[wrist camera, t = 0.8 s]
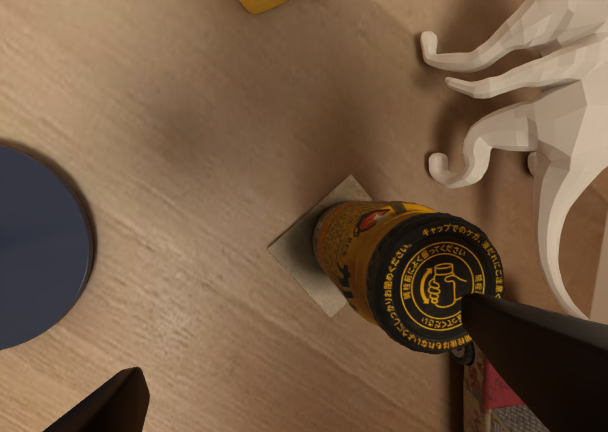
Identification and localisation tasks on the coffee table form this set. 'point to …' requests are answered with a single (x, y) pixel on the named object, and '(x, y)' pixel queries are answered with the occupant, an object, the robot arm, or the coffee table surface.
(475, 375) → the toy vehicle
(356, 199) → the condiment
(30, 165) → the peg on round base
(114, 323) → the coffee table surface
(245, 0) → the teapot
